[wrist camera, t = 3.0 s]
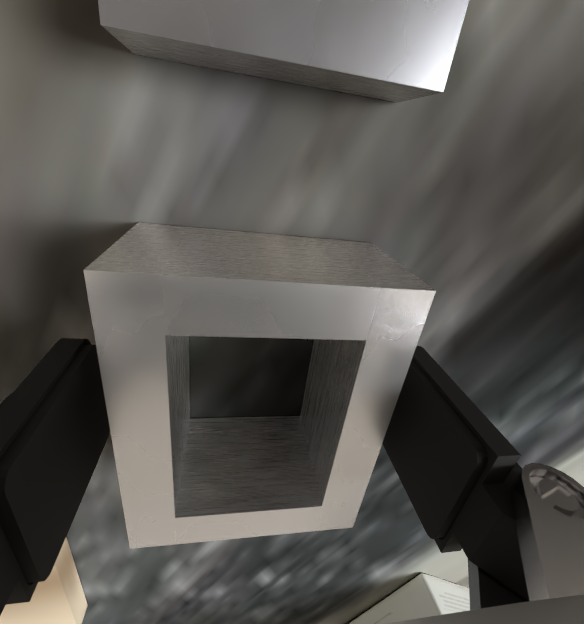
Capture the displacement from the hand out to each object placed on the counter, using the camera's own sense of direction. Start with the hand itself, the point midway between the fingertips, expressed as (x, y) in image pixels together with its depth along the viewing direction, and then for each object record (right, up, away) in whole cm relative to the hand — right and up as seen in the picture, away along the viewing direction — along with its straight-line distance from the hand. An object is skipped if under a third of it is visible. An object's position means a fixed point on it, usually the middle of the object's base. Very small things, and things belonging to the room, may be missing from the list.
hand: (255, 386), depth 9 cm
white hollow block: (0, +1, +1) cm, 2 cm away
